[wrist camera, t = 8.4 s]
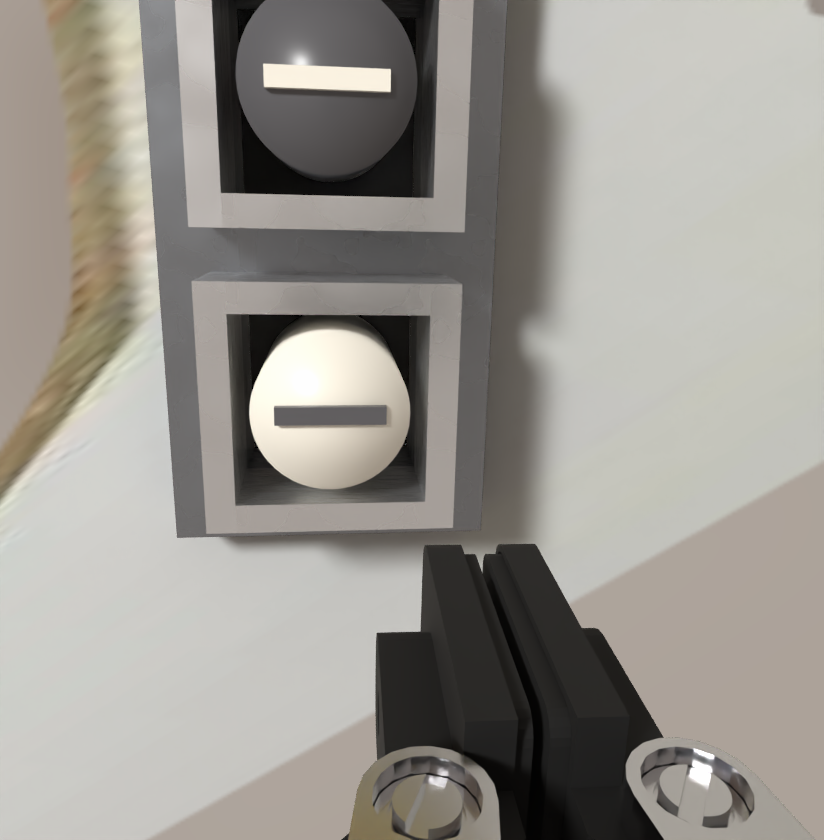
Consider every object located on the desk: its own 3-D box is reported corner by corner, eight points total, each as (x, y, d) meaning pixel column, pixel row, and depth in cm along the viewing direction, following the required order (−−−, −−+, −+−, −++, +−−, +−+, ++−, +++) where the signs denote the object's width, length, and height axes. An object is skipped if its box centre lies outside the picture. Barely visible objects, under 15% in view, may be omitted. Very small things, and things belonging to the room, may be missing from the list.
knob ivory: (396, 310, 29) (412, 336, 23) (394, 436, 31) (409, 490, 25) (263, 309, 29) (245, 335, 23) (267, 437, 30) (251, 493, 24)
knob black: (400, 32, 26) (420, -20, 20) (398, 183, 28) (416, 176, 22) (253, 25, 26) (230, -31, 20) (258, 180, 27) (238, 171, 21)
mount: (495, -66, 26) (543, -146, 20) (469, 506, 32) (500, 572, 26) (149, -88, 25) (92, -181, 19) (189, 512, 31) (155, 583, 25)
